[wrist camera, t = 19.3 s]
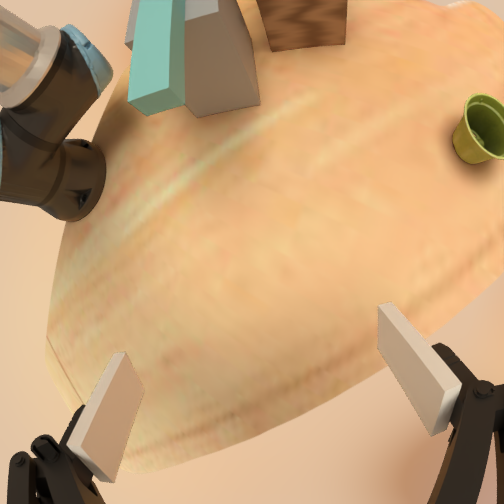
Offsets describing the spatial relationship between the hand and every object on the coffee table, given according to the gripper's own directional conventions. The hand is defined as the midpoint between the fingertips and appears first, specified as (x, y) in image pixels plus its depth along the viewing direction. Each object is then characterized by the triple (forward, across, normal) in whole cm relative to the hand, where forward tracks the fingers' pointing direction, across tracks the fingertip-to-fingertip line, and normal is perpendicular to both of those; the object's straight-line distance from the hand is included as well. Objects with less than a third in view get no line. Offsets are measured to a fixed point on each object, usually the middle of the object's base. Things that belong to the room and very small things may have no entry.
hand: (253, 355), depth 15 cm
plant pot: (+25, +35, +7) cm, 44 cm away
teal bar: (+16, -3, +26) cm, 31 cm away
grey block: (+37, +2, +23) cm, 44 cm away
